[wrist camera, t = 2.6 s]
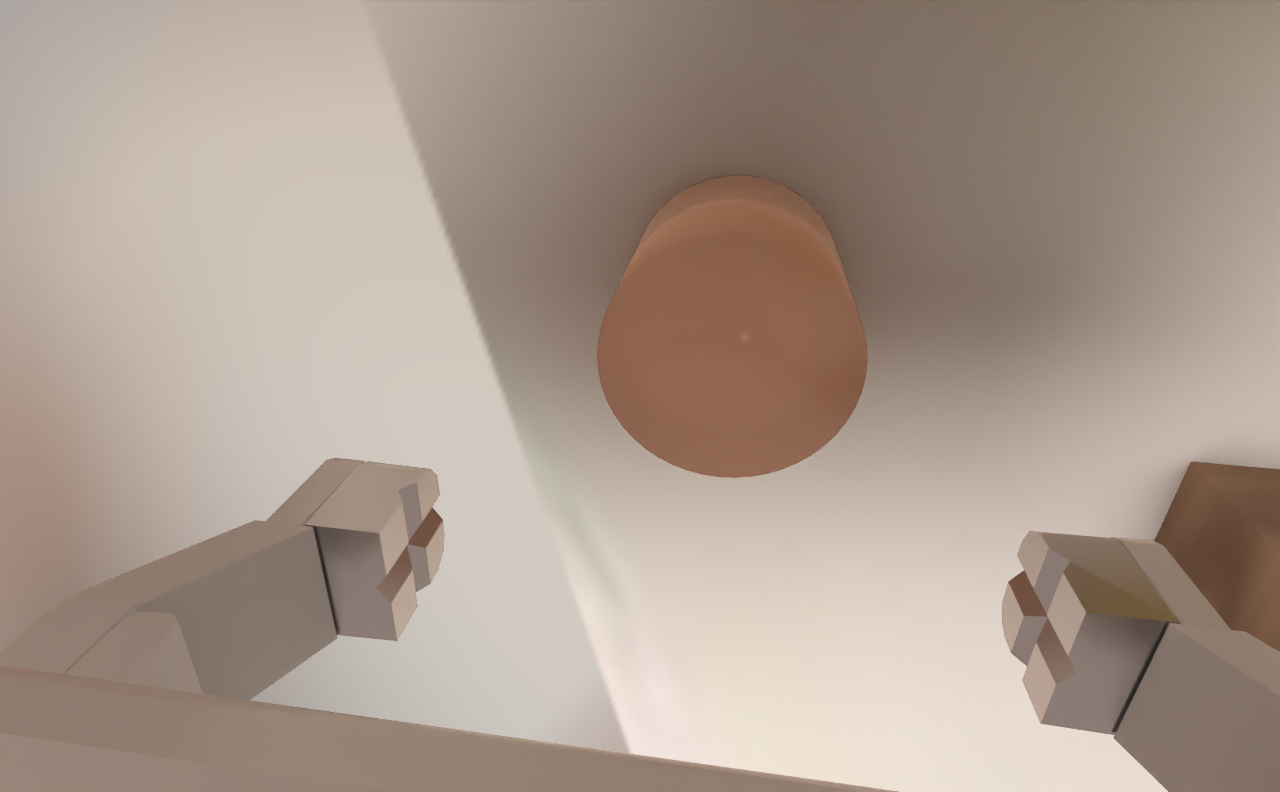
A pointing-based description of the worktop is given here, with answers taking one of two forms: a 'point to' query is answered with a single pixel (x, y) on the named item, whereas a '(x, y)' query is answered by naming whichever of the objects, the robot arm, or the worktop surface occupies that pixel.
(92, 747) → the robot arm
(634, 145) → the worktop surface
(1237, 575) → the walnut block
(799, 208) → the peach brown rounded dome
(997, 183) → the worktop surface
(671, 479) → the worktop surface
